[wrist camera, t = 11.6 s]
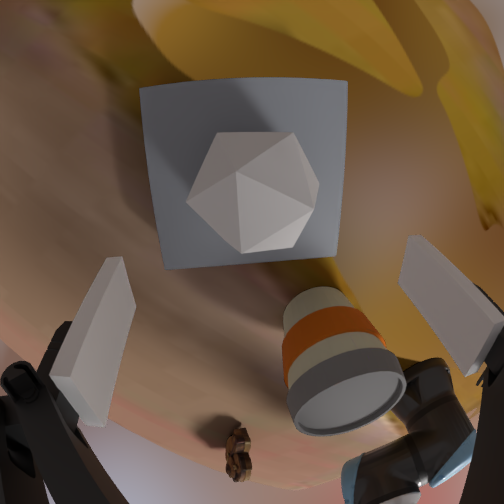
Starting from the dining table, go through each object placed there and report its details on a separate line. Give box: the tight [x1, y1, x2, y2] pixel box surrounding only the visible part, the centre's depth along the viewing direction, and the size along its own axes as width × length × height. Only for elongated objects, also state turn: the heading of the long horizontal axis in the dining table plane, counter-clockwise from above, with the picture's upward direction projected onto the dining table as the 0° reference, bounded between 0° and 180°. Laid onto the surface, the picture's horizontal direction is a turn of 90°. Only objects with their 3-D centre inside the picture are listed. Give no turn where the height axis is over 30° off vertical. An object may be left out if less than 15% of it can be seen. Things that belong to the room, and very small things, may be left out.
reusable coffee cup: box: [282, 287, 406, 436], centre depth 33 cm, size 13×13×15 cm
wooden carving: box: [225, 428, 252, 482], centre depth 52 cm, size 16×5×10 cm, turn 174°
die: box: [186, 132, 319, 254], centre depth 21 cm, size 8×9×10 cm
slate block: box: [139, 77, 348, 270], centre depth 27 cm, size 16×16×6 cm
